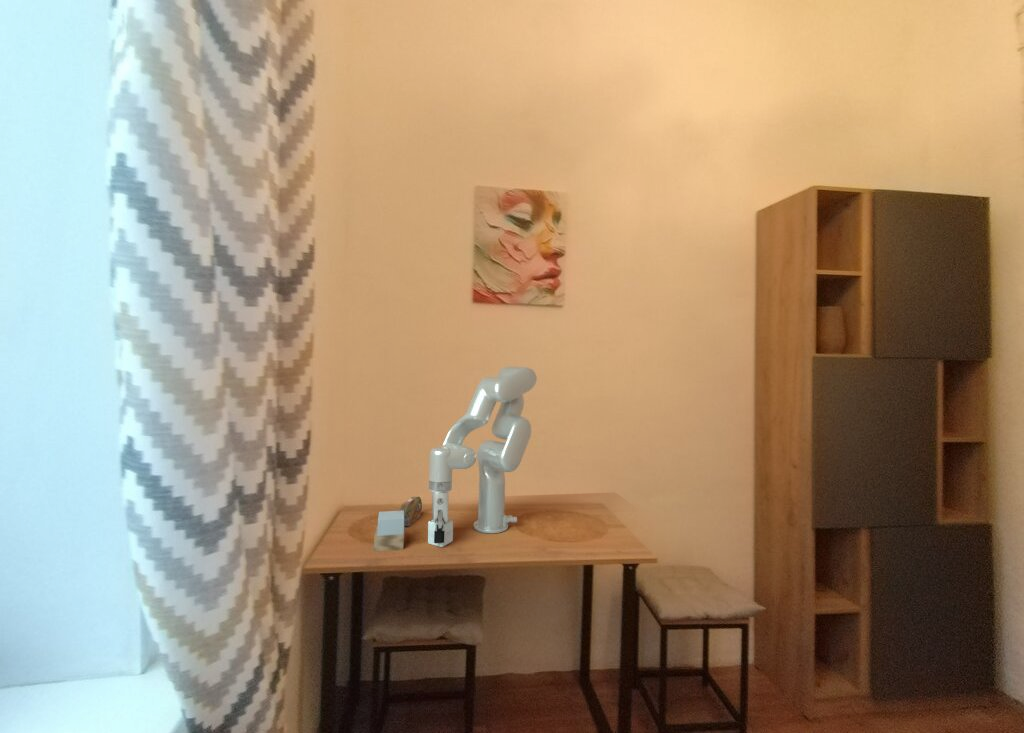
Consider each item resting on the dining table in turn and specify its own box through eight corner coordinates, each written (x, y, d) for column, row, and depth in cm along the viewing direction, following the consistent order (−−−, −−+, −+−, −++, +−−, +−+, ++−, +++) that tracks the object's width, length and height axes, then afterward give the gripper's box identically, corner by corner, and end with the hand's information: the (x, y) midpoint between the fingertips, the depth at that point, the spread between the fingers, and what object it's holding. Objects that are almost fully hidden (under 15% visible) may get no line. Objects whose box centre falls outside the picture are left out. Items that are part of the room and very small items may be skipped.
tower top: (403, 525, 150) (403, 510, 150) (403, 534, 142) (404, 518, 142) (378, 526, 148) (379, 511, 148) (377, 536, 140) (377, 520, 140)
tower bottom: (404, 539, 150) (404, 524, 150) (403, 550, 142) (403, 535, 141) (376, 540, 149) (377, 525, 149) (373, 552, 140) (374, 536, 140)
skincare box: (453, 541, 149) (453, 519, 149) (441, 547, 144) (442, 525, 144) (439, 537, 152) (439, 516, 152) (427, 543, 147) (427, 521, 147)
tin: (405, 529, 158) (406, 506, 158) (397, 528, 159) (397, 505, 158) (422, 515, 173) (422, 494, 173) (414, 514, 173) (415, 493, 173)
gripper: (453, 492, 140) (451, 547, 140) (450, 478, 157) (448, 527, 157) (429, 493, 138) (427, 548, 138) (428, 478, 155) (426, 527, 156)
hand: (438, 537), depth 148 cm, fingers closed on skincare box, 8 cm apart
